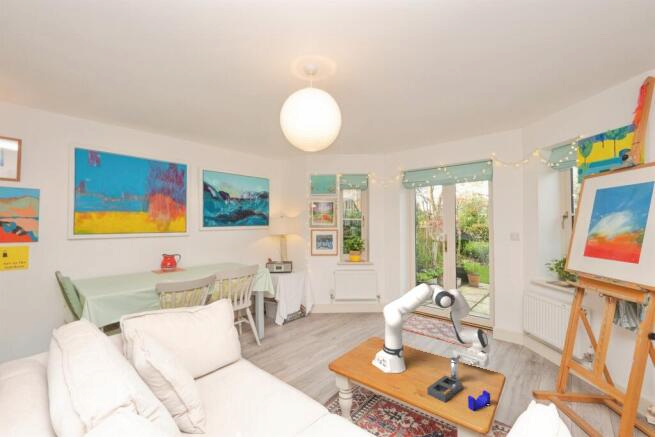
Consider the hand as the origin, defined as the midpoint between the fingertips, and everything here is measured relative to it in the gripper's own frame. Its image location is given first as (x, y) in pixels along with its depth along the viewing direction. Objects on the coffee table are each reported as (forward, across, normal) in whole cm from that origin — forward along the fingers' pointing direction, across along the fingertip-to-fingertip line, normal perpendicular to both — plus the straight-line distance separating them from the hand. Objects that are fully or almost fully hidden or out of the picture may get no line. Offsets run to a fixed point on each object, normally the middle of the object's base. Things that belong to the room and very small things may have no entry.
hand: (464, 361), depth 177 cm
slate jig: (+25, +1, +8) cm, 27 cm away
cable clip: (+25, +18, +8) cm, 32 cm away
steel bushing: (+12, 0, +8) cm, 15 cm away
